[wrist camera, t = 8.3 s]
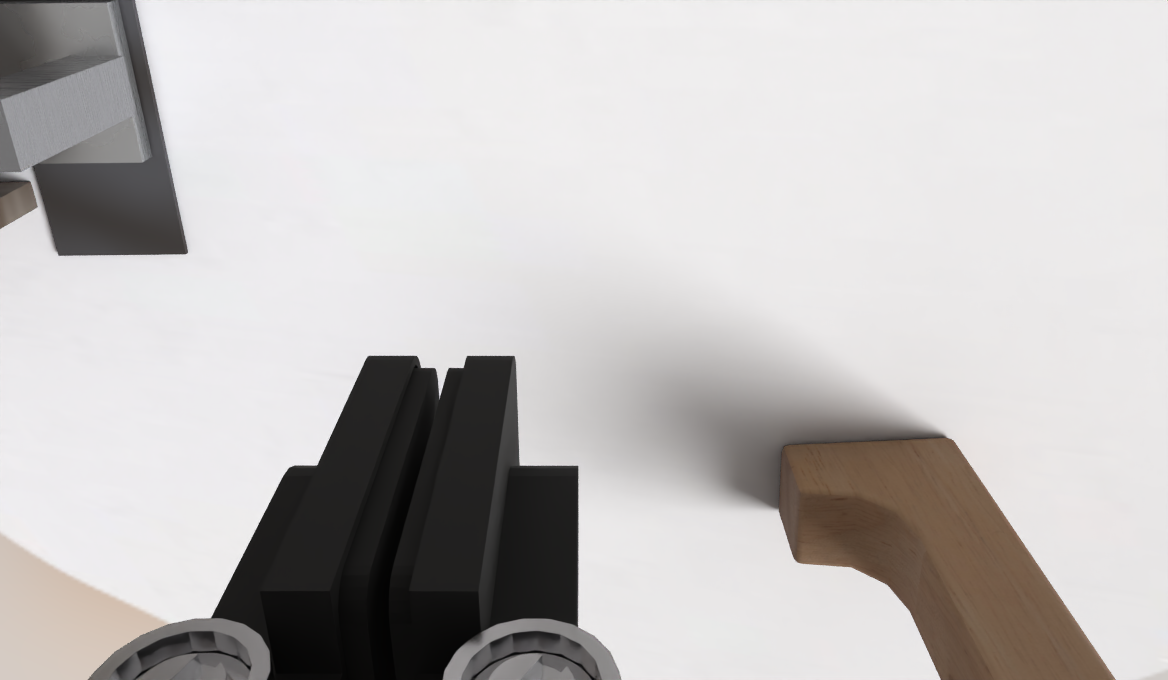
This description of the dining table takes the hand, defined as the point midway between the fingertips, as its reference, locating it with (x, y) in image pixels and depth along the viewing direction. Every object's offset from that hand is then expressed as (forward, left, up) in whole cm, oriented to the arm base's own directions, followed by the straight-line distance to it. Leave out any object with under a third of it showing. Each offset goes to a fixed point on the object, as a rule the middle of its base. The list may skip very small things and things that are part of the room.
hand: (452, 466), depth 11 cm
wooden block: (+22, +16, -32) cm, 42 cm away
